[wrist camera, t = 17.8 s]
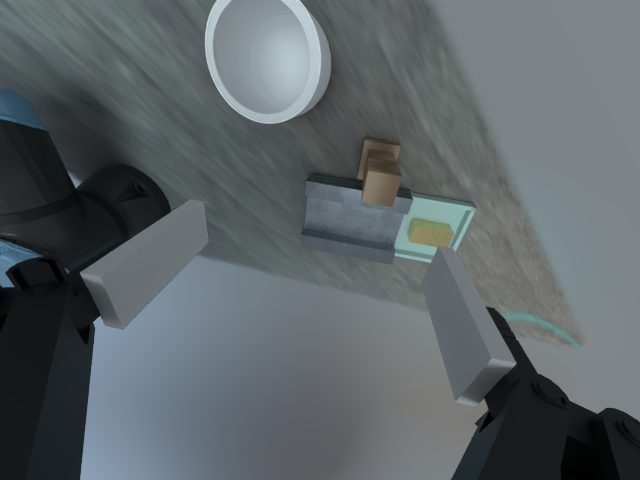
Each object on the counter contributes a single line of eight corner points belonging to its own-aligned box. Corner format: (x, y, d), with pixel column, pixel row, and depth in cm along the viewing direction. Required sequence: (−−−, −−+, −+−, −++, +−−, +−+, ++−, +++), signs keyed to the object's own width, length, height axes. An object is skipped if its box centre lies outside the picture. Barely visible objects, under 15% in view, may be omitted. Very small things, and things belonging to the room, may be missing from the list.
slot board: (305, 234, 48) (300, 246, 45) (311, 172, 42) (306, 181, 38) (389, 250, 47) (391, 264, 43) (409, 189, 41) (413, 199, 37)
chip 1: (407, 233, 44) (409, 242, 42) (412, 217, 43) (415, 226, 40) (424, 236, 44) (428, 245, 41) (430, 221, 42) (434, 229, 40)
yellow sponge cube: (428, 245, 41) (446, 249, 41) (434, 229, 40) (454, 233, 40) (424, 236, 44) (442, 239, 44) (430, 221, 42) (449, 224, 42)
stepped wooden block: (357, 172, 41) (353, 208, 29) (365, 136, 38) (363, 159, 26) (389, 178, 40) (397, 216, 29) (398, 142, 37) (412, 168, 26)
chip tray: (390, 248, 47) (390, 255, 45) (408, 191, 41) (410, 196, 39) (445, 259, 46) (448, 266, 44) (472, 202, 40) (476, 207, 38)
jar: (350, 36, 32) (338, 5, 19) (325, 121, 38) (302, 140, 25) (271, 6, 32) (206, -47, 19) (257, 96, 37) (199, 101, 25)
